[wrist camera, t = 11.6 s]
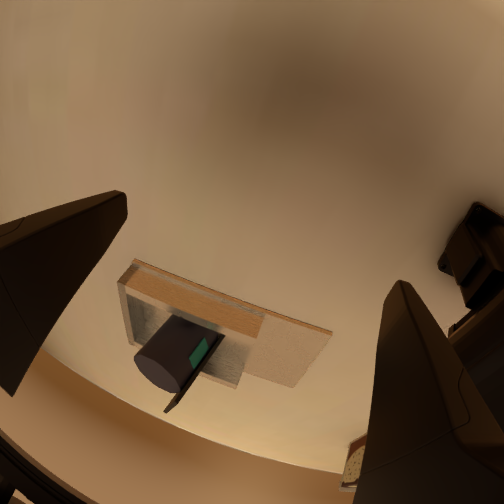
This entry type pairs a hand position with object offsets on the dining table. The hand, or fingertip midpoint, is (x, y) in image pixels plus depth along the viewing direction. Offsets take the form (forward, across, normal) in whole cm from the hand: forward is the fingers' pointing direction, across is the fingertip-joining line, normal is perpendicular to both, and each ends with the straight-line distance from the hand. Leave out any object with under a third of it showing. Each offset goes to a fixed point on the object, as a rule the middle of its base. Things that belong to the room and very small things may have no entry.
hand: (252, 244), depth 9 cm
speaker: (+13, +6, +23) cm, 27 cm away
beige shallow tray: (+13, +4, +23) cm, 27 cm away
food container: (+13, -27, +42) cm, 52 cm away
